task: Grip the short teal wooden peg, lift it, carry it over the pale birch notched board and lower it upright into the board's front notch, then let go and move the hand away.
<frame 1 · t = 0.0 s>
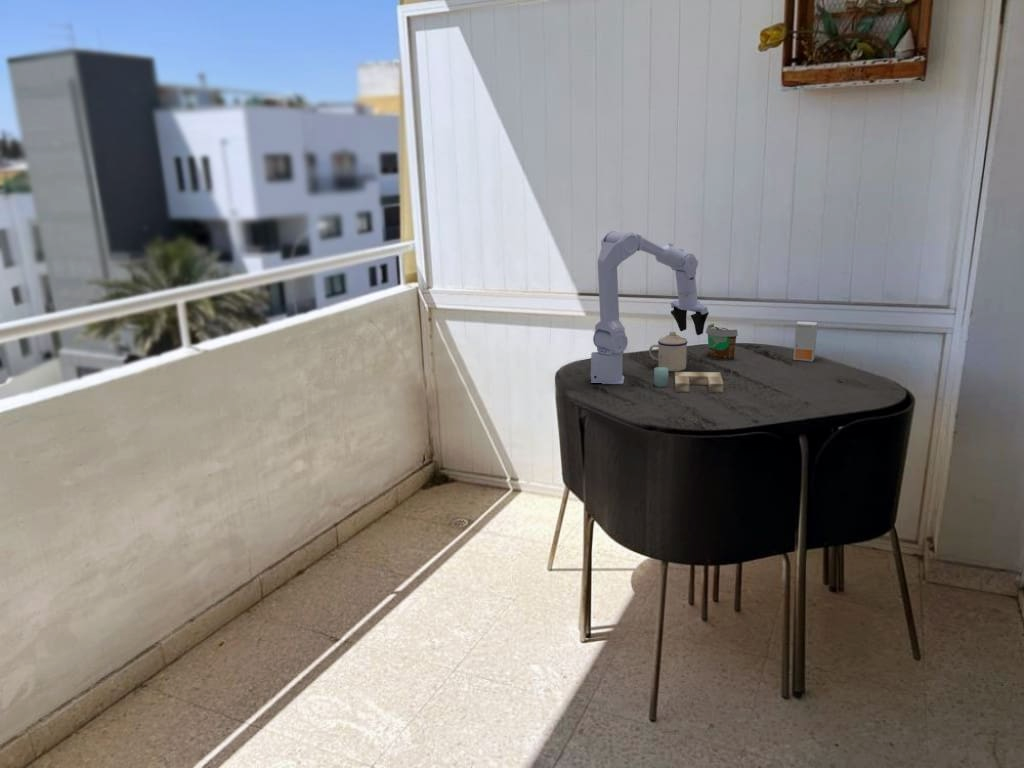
hand: (691, 332, 230), 11 cm above the table, tool pointing down, fingers open, 7 cm apart
skincare box: (804, 360, 233), on the table
notched board: (698, 386, 209), on the table
food container: (716, 357, 240), on the table
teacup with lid: (667, 368, 230), on the table
teal peg: (661, 385, 212), on the table
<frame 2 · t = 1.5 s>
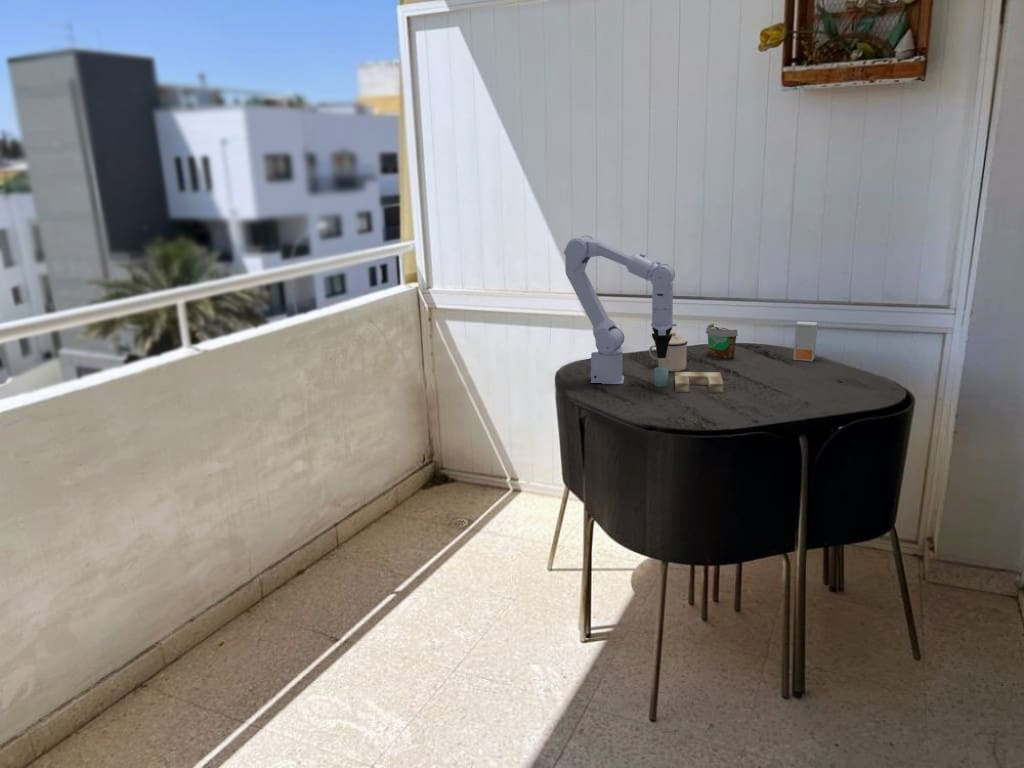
hand: (661, 354, 209), 9 cm above the table, tool pointing down, fingers open, 7 cm apart
nothing on the table moved.
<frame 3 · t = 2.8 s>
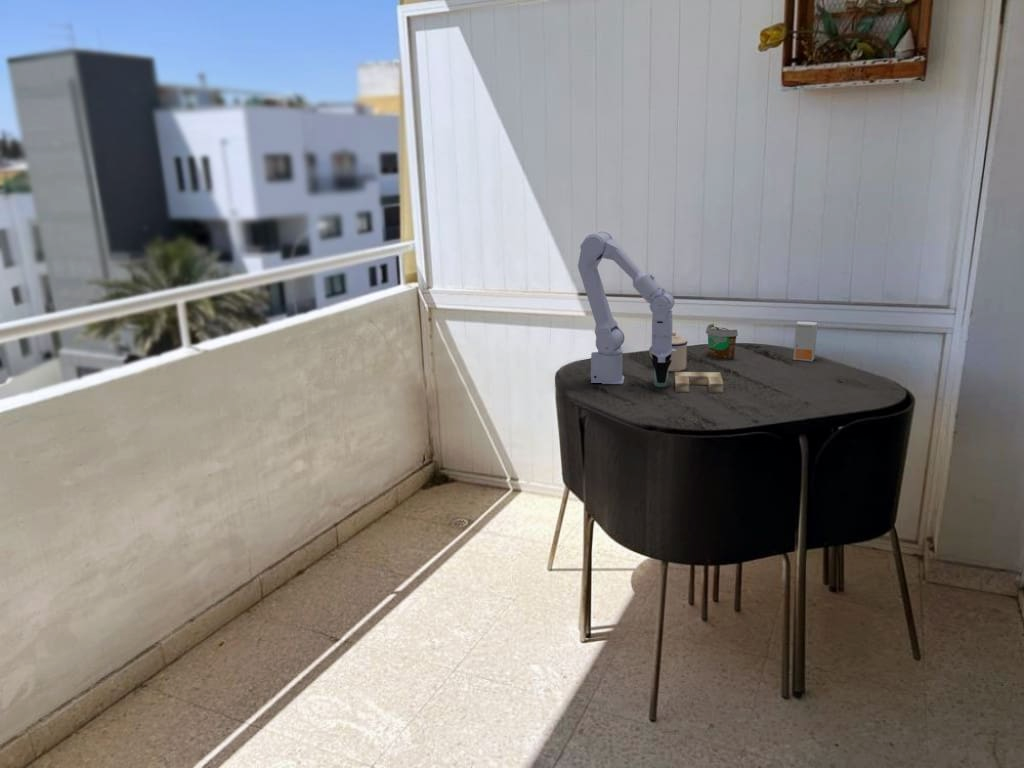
hand: (661, 380, 211), 1 cm above the table, tool pointing down, fingers closed on teal peg, 4 cm apart
teal peg: (661, 385, 212), on the table, touching gripper
everything else where it was.
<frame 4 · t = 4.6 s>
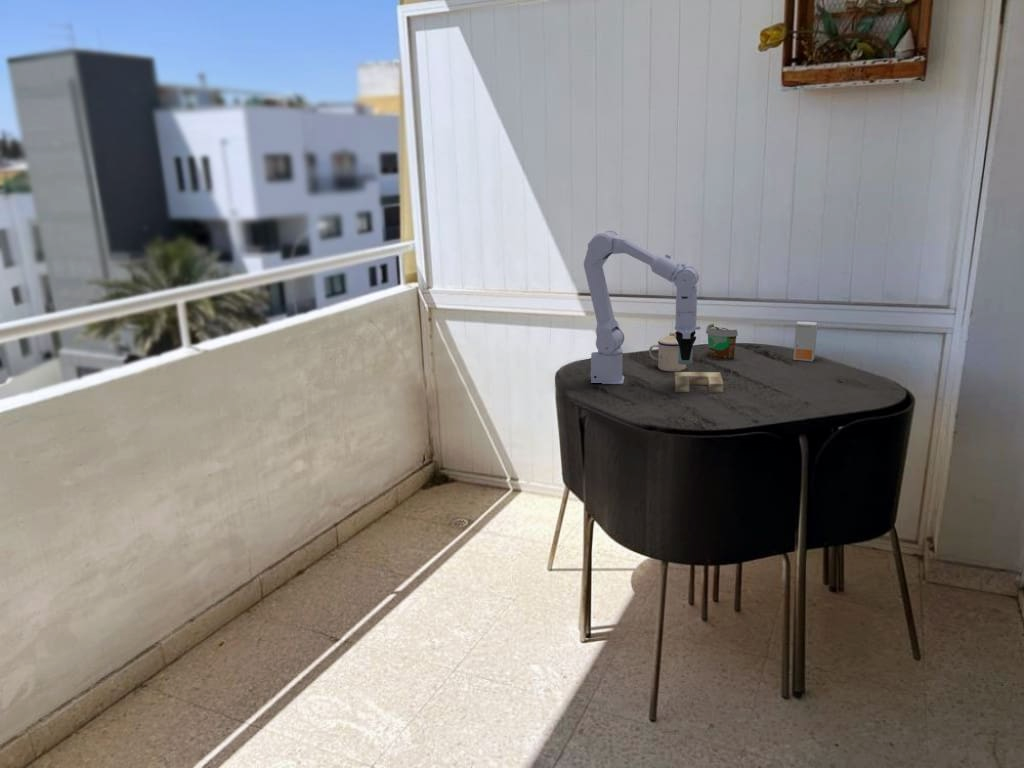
hand: (685, 358, 207), 9 cm above the table, tool pointing down, fingers closed on teal peg, 4 cm apart
teal peg: (685, 362, 207), point 7 cm above the table, touching gripper
everything else where it was.
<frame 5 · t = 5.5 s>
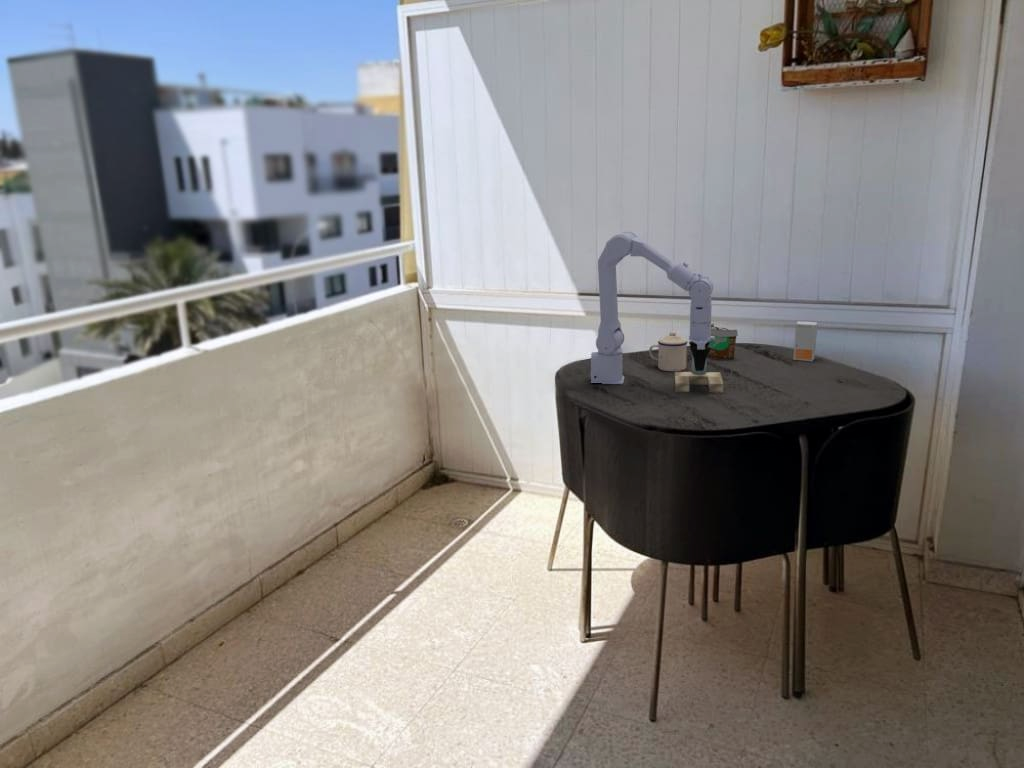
hand: (699, 368, 206), 6 cm above the table, tool pointing down, fingers closed on teal peg, 4 cm apart
teal peg: (698, 373, 207), point 4 cm above the table, touching gripper
everything else where it was.
when the fingers open (3 cm above the table, at t = 6.3 s): teal peg drops 2 cm, resting in notched board.
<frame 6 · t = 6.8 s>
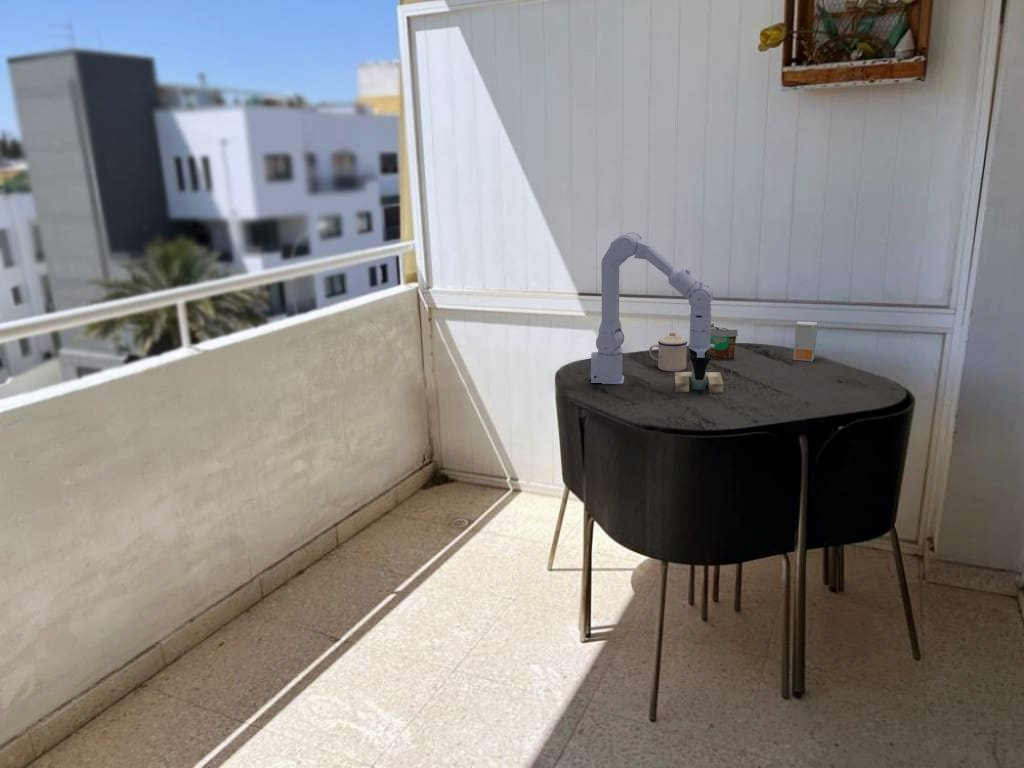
hand: (698, 376, 207), 3 cm above the table, tool pointing down, fingers open, 7 cm apart
teal peg: (698, 387, 208), resting in notched board
everything else where it was.
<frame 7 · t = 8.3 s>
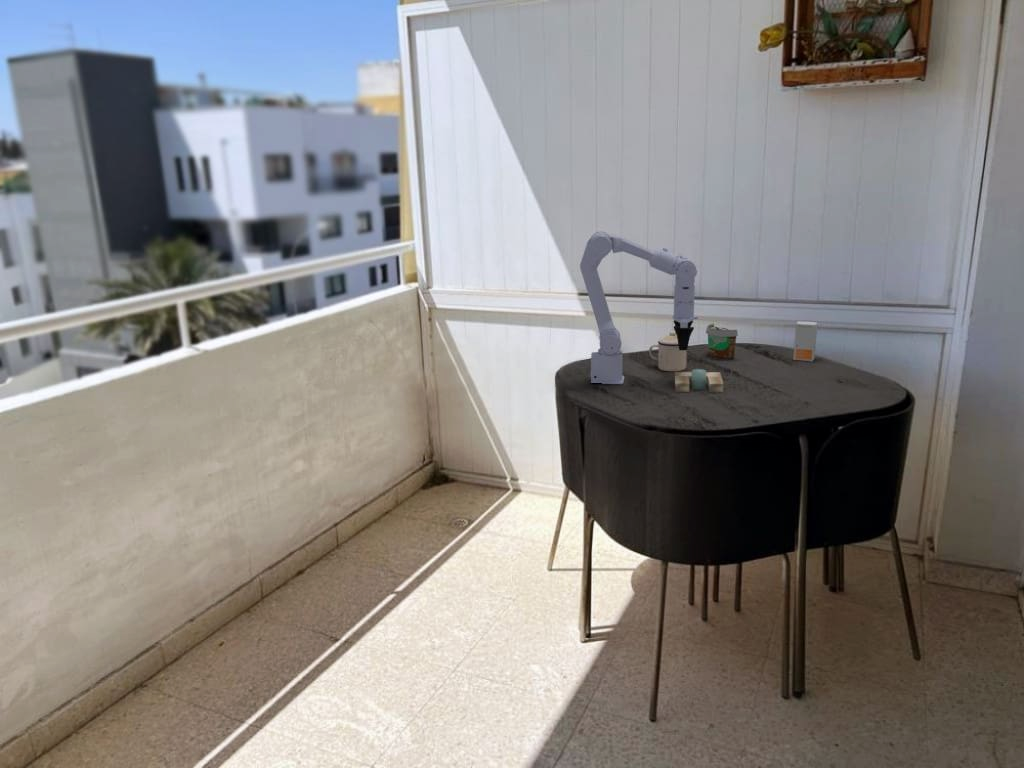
hand: (682, 347, 213), 10 cm above the table, tool pointing down, fingers open, 7 cm apart
nothing on the table moved.
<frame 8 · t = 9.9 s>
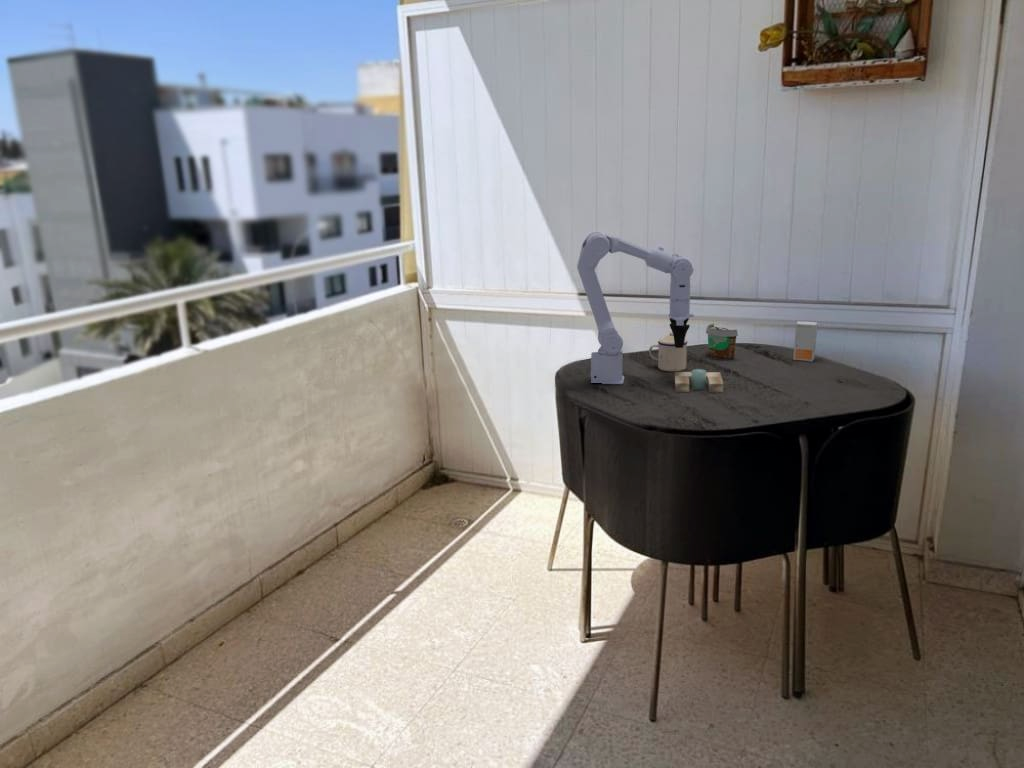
hand: (678, 344, 215), 10 cm above the table, tool pointing down, fingers open, 7 cm apart
nothing on the table moved.
at the end: teal peg 0.1 cm from the target spot on the notched board, point 0.0 cm above the notched board's base; teal peg tilted 0°; the gripper is holding nothing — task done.
